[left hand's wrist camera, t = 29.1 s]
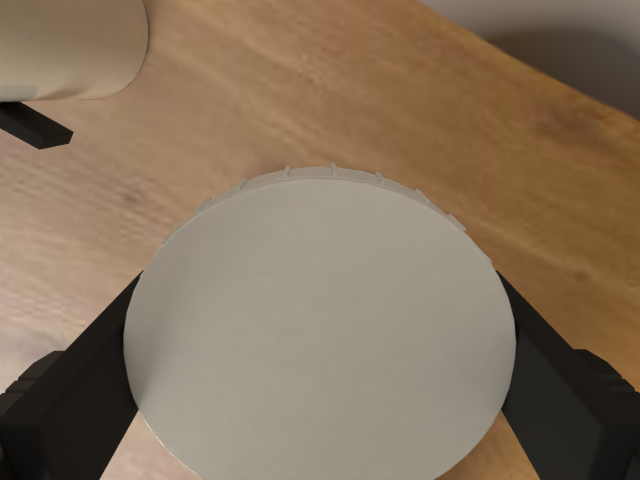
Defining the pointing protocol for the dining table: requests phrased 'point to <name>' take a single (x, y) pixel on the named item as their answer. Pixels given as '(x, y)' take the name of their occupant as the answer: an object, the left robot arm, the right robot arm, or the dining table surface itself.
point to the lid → (319, 333)
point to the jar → (69, 48)
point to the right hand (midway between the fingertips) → (91, 55)
